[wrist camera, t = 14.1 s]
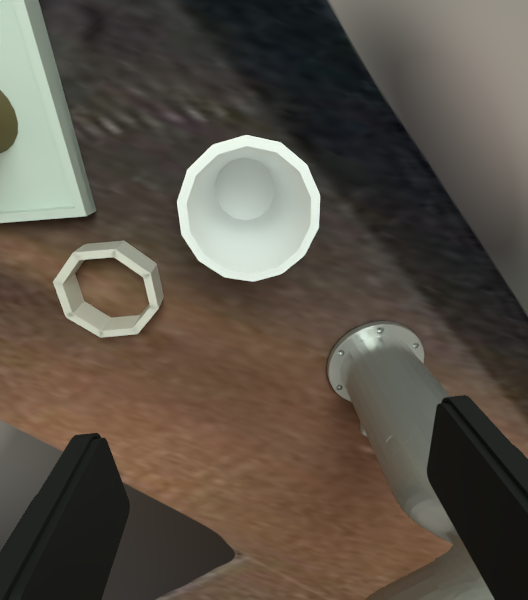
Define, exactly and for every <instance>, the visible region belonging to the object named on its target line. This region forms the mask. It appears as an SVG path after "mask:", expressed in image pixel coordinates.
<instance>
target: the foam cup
mask: <svg viewBox="0 0 528 600" xmlns="http://www.w3.org/2000/svg"><path fill="white" fill-rule="evenodd" d="M177 206H178V213H179V221H180V228H181V235H182V236H183V238H184V239H185V241H186V242H187V244H188V245H189V247H190V248H191V250H192V252H193V253H194V255H195V256H196V258H197V259H198V261H199V262H201V263H203V264H204V265H206V266H207V267H209V268H210V269H212V270H213V271H215V272H217V273H218V274H220V275H221V276H223V277H225V278H232V279H238V280H245V281H252V282H254V281H258V280H262V279H265V278H269V277H273V276H276V275H280V274H282V273H284V272H285V271H286V270H287V269H289V268H290V267H291V266H292V265H293V264H295V263H296V262H297V261H298V260H300V259H301V258H302V257H303V256H305V254H306V252H307V250H308V248H309V246H310V244H311V242H312V240H313V238H314V236H315V234H316V232H317V230H318V228H319V211H320V194H319V192H318V189H317V187H316V185H315V182H314V180H313V178H312V175H311V173H310V171H309V168H308V166H307V164H306V163H304V162H303V161H302V160H301V159H300V158H298V157H297V156H296V155H295V154H294V153H293V152H291V151H290V150H289V149H288V148H287V147H285V146H284V145H283V144H282V143H281V142H276V141H272V140H267V139H263V138H258V137H253V136H249V135H244V136H241V137H238V138H234V139H231V140H227V141H224V142H220V143H217V144H214V145H212V146H211V147H210V148H209V149H208V150H207V151H206V152H205V153H204V154H203V155H202V156H201V157H200V158H199V159H198V160H197V161H196V162H194V163H193V164H192V165H191V166H190V167H189V168H188V169H187V173H186V176H185V179H184V182H183V185H182V188H181V191H180V194H179V197H178V200H177Z"/></svg>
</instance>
